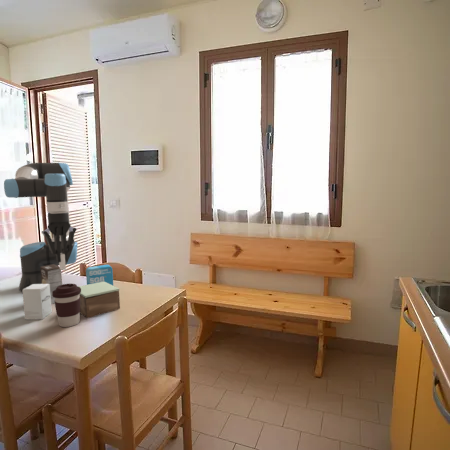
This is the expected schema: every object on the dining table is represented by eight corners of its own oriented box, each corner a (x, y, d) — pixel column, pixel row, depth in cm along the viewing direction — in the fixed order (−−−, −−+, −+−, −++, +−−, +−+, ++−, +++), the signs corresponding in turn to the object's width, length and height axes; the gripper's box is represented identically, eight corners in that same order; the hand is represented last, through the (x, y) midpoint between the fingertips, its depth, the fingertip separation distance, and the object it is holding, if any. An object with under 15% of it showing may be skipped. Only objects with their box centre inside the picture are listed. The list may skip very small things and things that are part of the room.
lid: (71, 289, 140) (71, 287, 140) (104, 283, 150) (104, 281, 150) (85, 297, 129) (85, 295, 129) (119, 290, 139) (119, 288, 139)
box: (74, 308, 141) (72, 291, 140) (105, 300, 151) (104, 283, 150) (87, 318, 131) (85, 299, 130) (120, 308, 141) (118, 290, 140)
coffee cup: (54, 331, 120) (50, 291, 118) (56, 320, 129) (52, 284, 127) (83, 326, 124) (80, 288, 122) (83, 316, 133) (80, 280, 131)
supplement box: (42, 319, 130) (40, 289, 129) (24, 319, 130) (21, 289, 129) (52, 312, 138) (50, 283, 136) (35, 312, 138) (32, 283, 136)
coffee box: (42, 300, 152) (39, 266, 150) (56, 296, 157) (54, 263, 155) (49, 304, 146) (46, 270, 144) (64, 300, 151) (61, 267, 149)
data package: (88, 293, 161) (87, 269, 159) (87, 290, 165) (85, 267, 163) (113, 288, 167) (112, 265, 166) (111, 286, 171) (110, 264, 170)
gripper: (43, 214, 124) (49, 274, 127) (78, 211, 133) (82, 267, 137) (37, 213, 129) (42, 270, 132) (70, 210, 138) (74, 264, 142)
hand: (62, 269), depth 135 cm, fingers closed
